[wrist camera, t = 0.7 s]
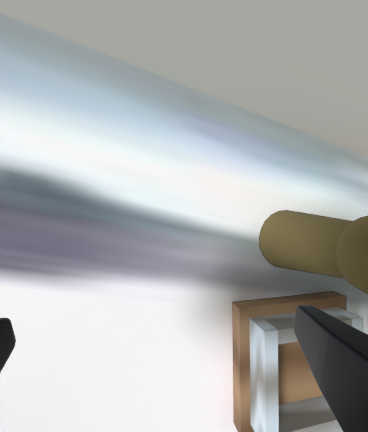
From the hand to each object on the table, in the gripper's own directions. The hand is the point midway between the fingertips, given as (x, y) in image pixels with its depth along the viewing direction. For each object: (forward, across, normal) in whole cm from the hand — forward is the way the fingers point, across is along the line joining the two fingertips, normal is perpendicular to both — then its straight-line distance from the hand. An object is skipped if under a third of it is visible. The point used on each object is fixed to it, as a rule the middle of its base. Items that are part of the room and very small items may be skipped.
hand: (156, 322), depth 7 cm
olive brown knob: (+16, -12, +4) cm, 20 cm away
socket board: (+12, -12, +15) cm, 23 cm away
